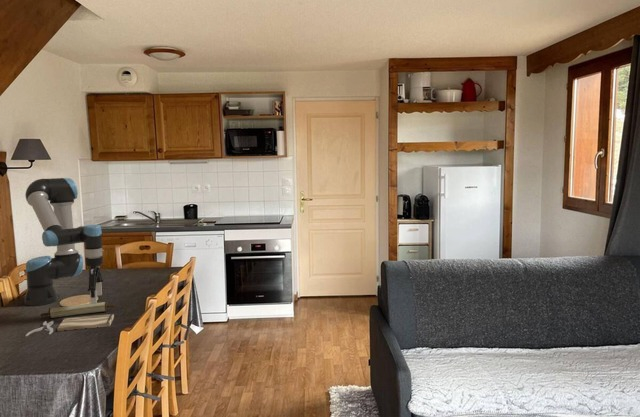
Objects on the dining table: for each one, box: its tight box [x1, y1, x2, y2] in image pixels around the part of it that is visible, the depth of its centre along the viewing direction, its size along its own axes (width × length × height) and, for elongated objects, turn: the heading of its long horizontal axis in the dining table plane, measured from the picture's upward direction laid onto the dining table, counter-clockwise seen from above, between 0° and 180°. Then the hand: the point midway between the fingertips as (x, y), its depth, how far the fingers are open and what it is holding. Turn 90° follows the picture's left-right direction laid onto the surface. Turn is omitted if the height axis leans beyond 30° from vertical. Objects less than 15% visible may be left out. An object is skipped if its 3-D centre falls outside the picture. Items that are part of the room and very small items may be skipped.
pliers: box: [24, 320, 54, 337], centre depth 205 cm, size 10×2×15 cm
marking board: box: [56, 313, 115, 332], centre depth 211 cm, size 13×21×2 cm, turn 106°
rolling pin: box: [39, 301, 116, 320], centre depth 224 cm, size 32×6×5 cm, turn 113°
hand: (96, 299), depth 227 cm, fingers open, 13 cm apart
